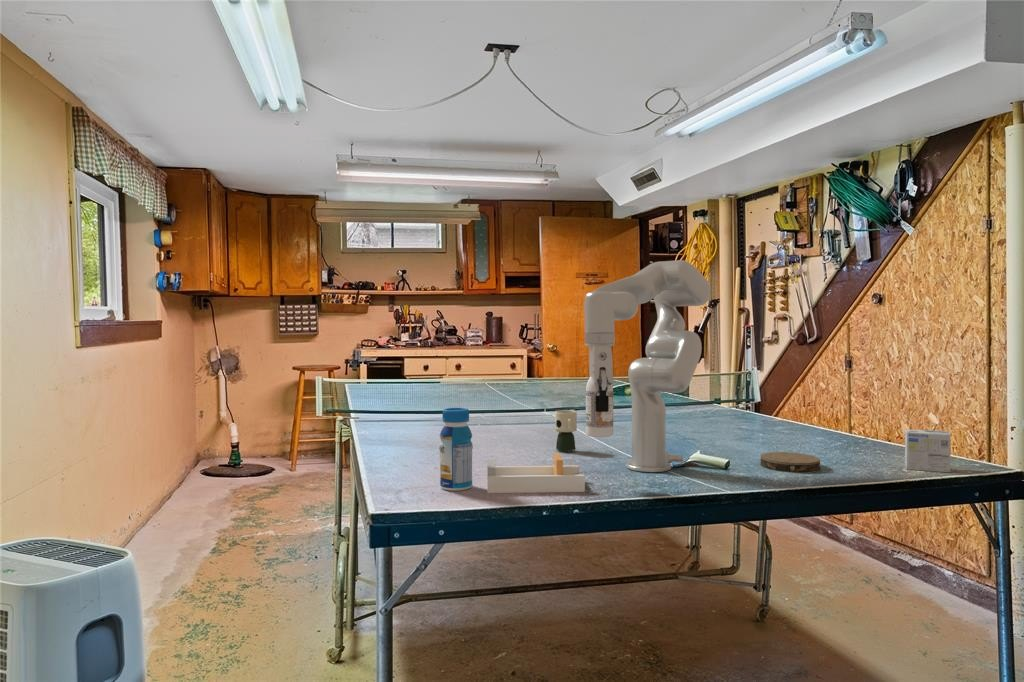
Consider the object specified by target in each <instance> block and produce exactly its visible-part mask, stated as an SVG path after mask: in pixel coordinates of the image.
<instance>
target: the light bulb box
mask: <svg viewBox="0 0 1024 682" xmlns="http://www.w3.org/2000/svg"><path fill="white" fill-rule="evenodd" d="M951 453H952V452H951V433H949V432H948V431H947V430H930V429H929V430H928V429H911V428H910V429H909V428H905V429H904V467H905V469H906V470H908V471H909V470H911V471H924V472H935V473H936V472H938V473H951V464H952V463H951V462H952V461H951Z"/></svg>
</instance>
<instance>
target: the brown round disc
mask: <svg viewBox="0 0 1024 682" xmlns="http://www.w3.org/2000/svg"><path fill="white" fill-rule="evenodd" d="M760 466H761V468H764V469H768V470H771V471H777V472H782V473H783V472H784V473H792V474H798V473H799V474H803V473H804V474H807V473H816V472H818V471H820V470H821V459H820V458H819V457H818V456H815V455H812V454H807V453H799V452H792V451H791V452H788V451H772V452H769V451H768V452H764V453H761V454H760Z"/></svg>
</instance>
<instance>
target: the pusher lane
mask: <svg viewBox="0 0 1024 682" xmlns="http://www.w3.org/2000/svg"><path fill="white" fill-rule="evenodd" d="M496 463H497V462H496V459H487V475H486V476H487V494H504V493H505V494H508V493H509V494H512V493H513V494H515V493H516V494H517V493H525V494H526V493H531V494H533V493H534V494H535V493H585V491H586V486H585V485H586V478H585V477H586V476H585V474H580V466H579V465H577V464H576V465H573V464H572V465H563V475H554V465H502V466H501V465H496Z"/></svg>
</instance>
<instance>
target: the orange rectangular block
mask: <svg viewBox="0 0 1024 682" xmlns="http://www.w3.org/2000/svg"><path fill="white" fill-rule="evenodd" d="M552 455H553V466H554V475H563V466H564V459H563V457H562V455H561V453H560V452H559V453H558V452H557V453H556V452H555V453H553V454H552Z"/></svg>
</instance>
